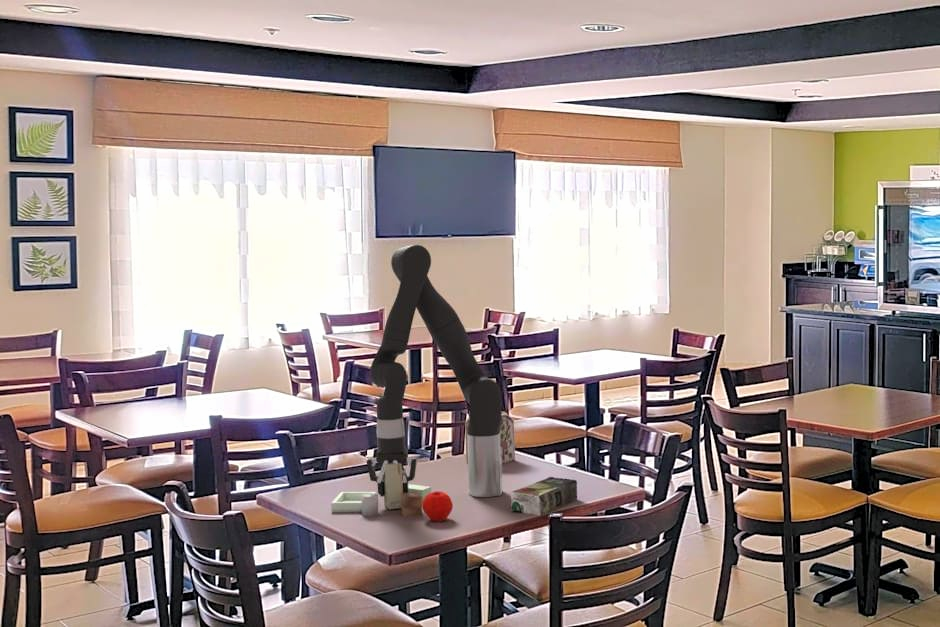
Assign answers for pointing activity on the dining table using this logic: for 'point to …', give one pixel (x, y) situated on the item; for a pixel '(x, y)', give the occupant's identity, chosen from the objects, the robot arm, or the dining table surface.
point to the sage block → (419, 490)
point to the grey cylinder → (369, 504)
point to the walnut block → (411, 503)
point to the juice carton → (544, 496)
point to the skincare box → (393, 485)
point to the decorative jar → (502, 438)
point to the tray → (348, 502)
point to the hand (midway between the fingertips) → (393, 495)
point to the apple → (437, 505)
